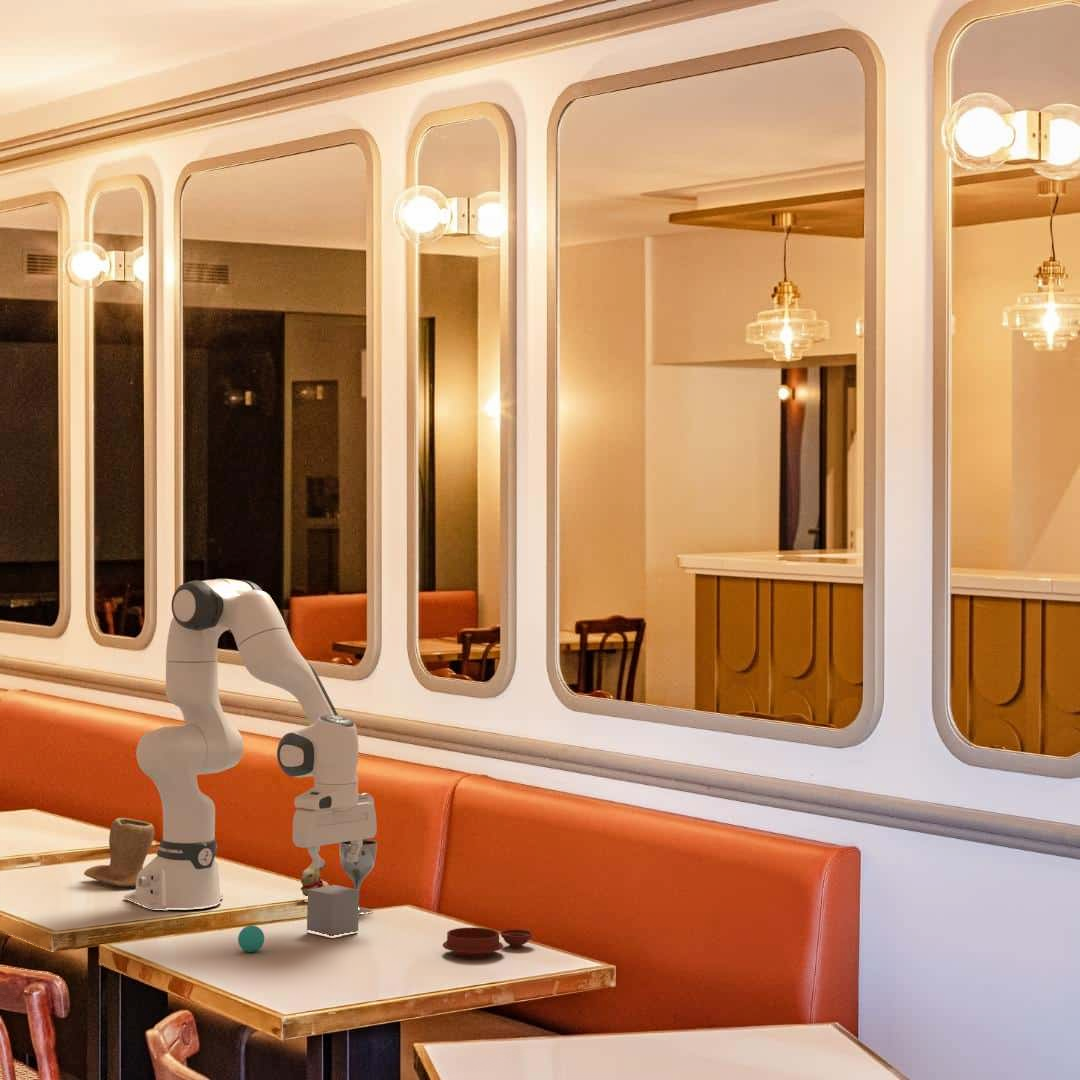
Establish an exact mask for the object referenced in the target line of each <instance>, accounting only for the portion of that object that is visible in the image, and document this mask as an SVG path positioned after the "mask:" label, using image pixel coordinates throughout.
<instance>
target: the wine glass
mask: <svg viewBox="0 0 1080 1080" xmlns="http://www.w3.org/2000/svg"><path fill="white" fill-rule="evenodd" d="M352 845H353V844H351V841H347V842H341V843H339V858H340V859H339V861H340V865H341V866H342V869H343V870H344V872H345V873H346V874H347V875H348V877H349V878H350V880H351V881H352V883H353V886H354V888H353V889H357V890H359V893H360V890H361V885H362V883H363V881H364V880H365V878H366V877H367V876H368V875H369V874H370V873H371V871H372V870H373V868H374V866H375V864H376V858H377V851H378V850H377V848H378V846H377V845H378V842H377V840H375V839H371V838H367V839H363V845H362V847H361V849H360V851H359V853H358V861H357V862H353V863H351V862H348V861H347V858H348V857H347V853H350V851H351V848H352ZM371 911H373V912H374V910H373V909H370V908H367V907H362V906H360V905H359V913H361V914H359V916H365V915H364V914H365V913H366V912H371Z"/></svg>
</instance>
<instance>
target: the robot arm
mask: <svg viewBox="0 0 1080 1080" xmlns="http://www.w3.org/2000/svg"><path fill="white" fill-rule="evenodd" d="M171 612H172V616H173V617H172V619H171V621H170V625H169V629H168V634H167V635H168V636H167V641H166V642H167V643H166V651H165V695H166V698H167V699H168V701H169V702H170V703H172V704H173V705H174V706H176V707H178V708H179V710H180V711H181V713H182V716H183V720H184V725H171V726H163V727H160V728H157V729H153V730H150V731H148V732H146V733H144V734H143V735H142V736H141V737H140V739H139V741H138V744H137V747H136V753H135V754H136V761H137V763H138V764H137V765H138V767H139V768H140V769H141V771H142V772H143V774H145V775H146V776H147V777H149V778H150V779H151V781H152V782H153V783H154V786H155V787H156V789H157V790H158V793H159V797H160V800H161V806H162V838H161V840H159V841H154V843H155V844H156V843H157V844H156V845H154V847H156V848H157V851H156V852H157V853H156V856H155V857H154V858H153V859H152V860H151V861H150V862H149V863H148V864H146V865H145V866H144V867H143V869H142V870H140V871H139V873H138V875H137V880H136V886H135V891H133V892H129V893H127V894H125V895H124V896H123V899H124V898H126V899H129V900H131V901H133V902H136V903H139V904H141V905H144V906H146V907H148V908H151V909H166V908H194V907H202V906H203V907H204V906H210V905H214V904H217V903H219V902H220V898H221V897H223V898H224V895H223V893H221V887H220V876H219V875H220V874H219V864H218V861H216V858H215V857H216V856H217V849H218V844H217V839H216V838H215V837H216V834H215V832H216V829H215V828H216V805H215V803H214V801H213V800H212V799H211V798H210V796H209V795H207V794H204V792H202V791H201V790H200V788H199V787H200V786H199V783H198V776H199V775H210V774H216V773H217V774H218V773H221V772H223V771H226V770H229V769H232V768H233V767H236V766H237V765H238V764H239V763H240V761H241V760H242V757H243V754H244V747H245V746H244V741H243V737H242V735H241V732H240V731H239V730H238V729H237V728H236V727H235V726H234V725H233V724H231V722H230V721H229V720H228V718H227V717H226V715H225V713H224V711H223V707H222V704H221V701H220V696H219V695H220V694H219V684H218V683H219V679H218V670H219V669H218V668H219V667H218V666H219V665H218V663H219V661H218V659H219V657H218V655H219V654H218V645H219V644H218V643H219V640H220V639H219V638H220V637H221V635H222V634H223V633H224V632H226V631H227V632H228V633H230V634H232V635H233V637H234V641H235V644H236V646H237V647H236V648H237V650H238V653H239V656H240V658H241V661H242V663H243V665H244V667H245V669H246V670H247V671H248V673H249V674H250V675H251V676H252V677H253V678H255V679H256V680H258V681H259V682H264V683H266V684H269V685H272V686H275V687H278V688H280V689H283V690H284V691H286V692H288V693H289V694H290V695H292V696H293V697H294V698H295V699H296V700H297V701H298V702H299V704H300V706H301V709H302V710H303V712H304V714H305V716H306V718H307V720H308V722H309V725H307V726H305V727H303V728H300V729H297V730H293V731H291V732H288V733H285V734H284V735H283V736H282V737H281V739H280V740H279V742H278V745H277V750H276V758H277V759H276V760H277V762H278V765H279V767H280V769H281V771H282V772H283V773H284V774H286V775H287V776H289V777H293V778H307V777H313V778H314V785H313V786H314V787H311V788H310V789H308V790H306V791H305V792H303V793H301V794H300V795H298V796H296V797H295V798H294V801H293V802H294V807H295V808H296V810H295V812H294V814H293V819H292V842H293V844H294V845H295V847H296V848H297V847H298V848H303V849H306V848H307V852H308V854H309V856H310V858H311V860H312V862H311V863H312V866H313V868H322V867H323V866H324V864H323V863H324V861H325V860H324V858H321V859H320V857H321V855H320V854H319V852H320V851H321V847H322V846H327V845H333V844H340V843H341V842H347V841H351V844H353V845H352V848H351V851H350V853H347V857H348V858H347V861H348V862H351V863H353V862H357V861H358V853H359V851H360V849H361V847H362V845H363V839H372V838H373V839H374V838H375V837H376V835H377V832H378V830H377V829H378V828H377V826H378V825H377V824H378V823H377V814H376V808H375V799H374V797H373V796H372V795H371V794H370V793H368V792H363V793H359V777H358V774H357V768H358V767H357V766H358V763H359V736H358V730H357V726H356V724H355V722H354V721H353V720H352V719H351V718H349V717H345V716H342V715H339V713H338V712H337V710H336V708H335V706H334V704H333V702H332V700H331V699H330V697H329V695H328V693H327V690H326V689H325V687H324V685H323V683H322V681H321V679H320V678H319V675H318V674H317V672H316V671H315V669H314V667H313V666H312V665H311V664H310V662H309V661H307V660H306V659H305V657H303V655H302V654H301V652H300V651H299V650H298V647H296V645H295V643H294V641H293V639H292V637H291V635H290V633H289V630H288V628H287V624H286V623H285V621H284V618H283V616H282V614H281V612H280V610H279V608H278V606H277V605H276V603H275V601H274V600H273V599H272V597H271V595H270V594H269V593H267V592H266V591H263V589H262V588H261V587H260V586H259V585H257V584H256V583H254V582H253V581H250V580H245V579H238V580H237V579H231V578H215V579H206V580H191V581H187V582H185V583H182V584H181V585H179V586H178V587H177V589H176V590H175V591H174V593H173V595H172V599H171ZM297 808H298V809H297Z"/></svg>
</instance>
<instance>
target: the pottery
mask: <svg viewBox="0 0 1080 1080" xmlns="http://www.w3.org/2000/svg"><path fill="white" fill-rule="evenodd" d="M533 934H534V933H533V932H532V931H530V930H527V929H519V928H517V929H515V928H514V929H504V930H501V931H500V932H499V931H497V930H495V929H491V928H485V927H458V928H454V929H453V928H452V929H451V930H448V931H447V933H446V941H444V942H443V943H442V947H443V949H446V950H447V951H451V952H453V953H455V954H456V955H457V957H459V958H461V959H463V958H464V959H472V960H474V959H484V958H488V957H489V955H490V954H491V953H493V952H496V951H500V950H501V949H503V948H504V944H503V943H502V942H501V941H500V936H501V938H502V939H503V941H504V942H505V943H506V944H508V948H509V949H511V950H522V949H524V945H526V944H527V943H528V942H529V941H530V939H531V938H532V936H533Z"/></svg>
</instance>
